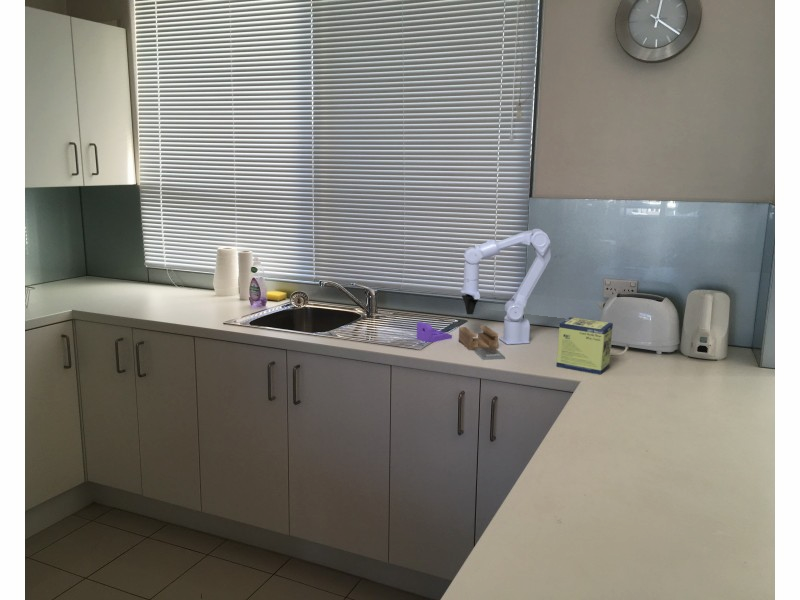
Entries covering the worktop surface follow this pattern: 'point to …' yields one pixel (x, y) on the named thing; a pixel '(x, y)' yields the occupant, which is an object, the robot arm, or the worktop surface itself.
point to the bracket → (430, 333)
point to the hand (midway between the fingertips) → (469, 314)
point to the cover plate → (488, 353)
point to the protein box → (584, 345)
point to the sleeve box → (483, 340)
